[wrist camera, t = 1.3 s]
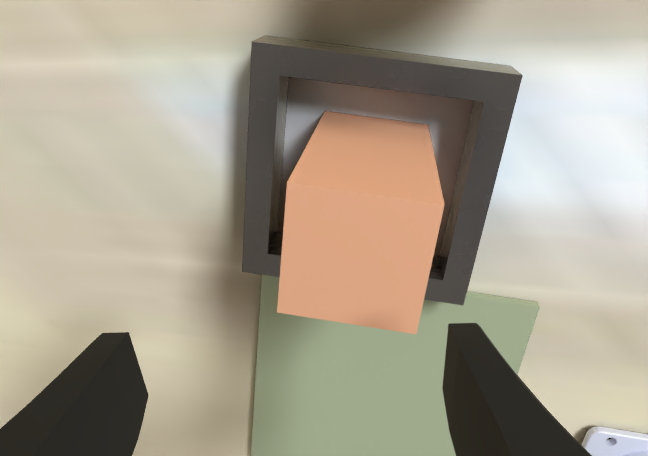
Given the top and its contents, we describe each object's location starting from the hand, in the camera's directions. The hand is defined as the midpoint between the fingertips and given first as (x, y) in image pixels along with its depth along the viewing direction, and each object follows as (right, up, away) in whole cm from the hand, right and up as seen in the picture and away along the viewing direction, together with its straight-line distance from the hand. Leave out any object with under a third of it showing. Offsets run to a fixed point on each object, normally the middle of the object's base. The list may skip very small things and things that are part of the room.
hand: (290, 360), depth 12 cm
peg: (+3, +5, +9) cm, 11 cm away
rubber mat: (+3, -5, +14) cm, 15 cm away
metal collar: (+3, +5, +9) cm, 11 cm away
